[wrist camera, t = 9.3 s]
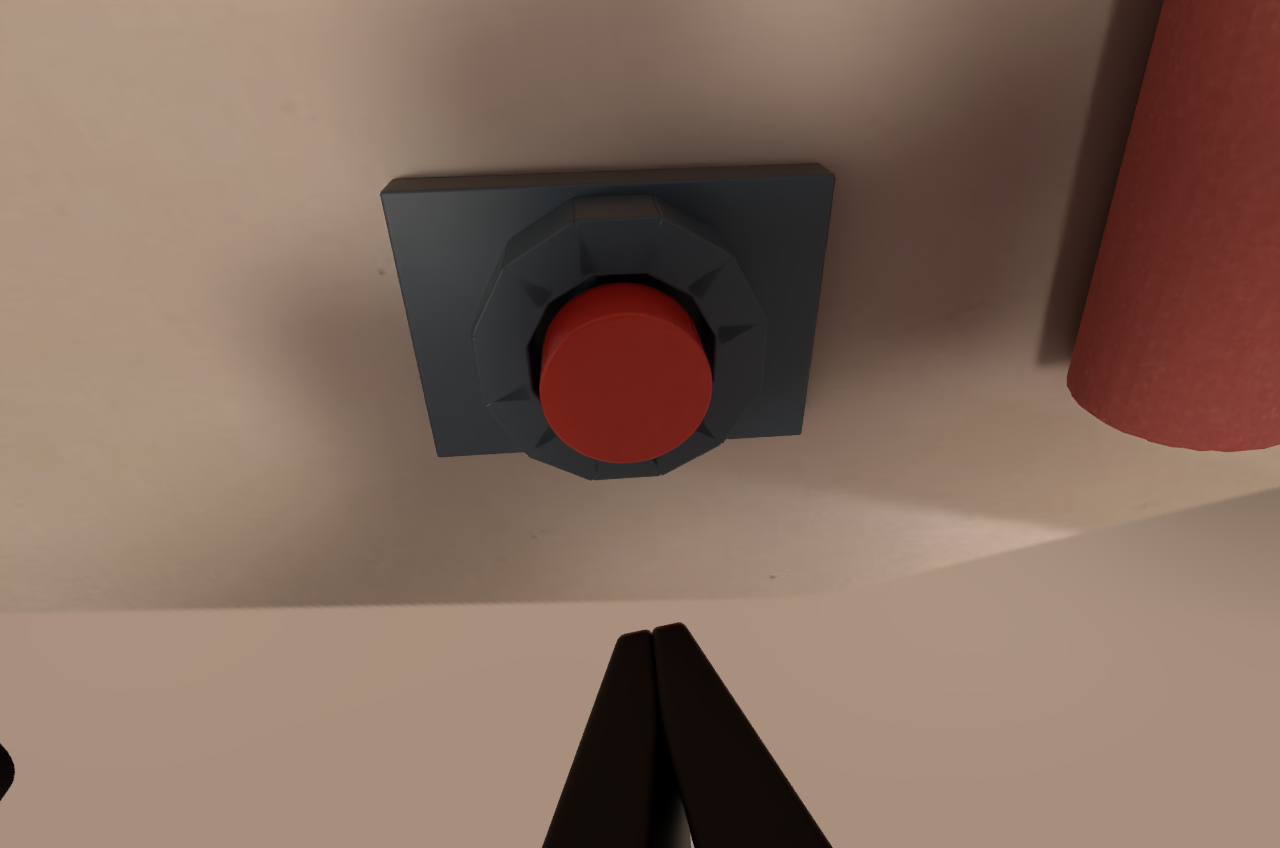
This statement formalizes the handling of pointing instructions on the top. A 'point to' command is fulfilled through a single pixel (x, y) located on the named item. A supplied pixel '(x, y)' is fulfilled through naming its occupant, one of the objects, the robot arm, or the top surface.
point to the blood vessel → (1193, 242)
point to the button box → (600, 254)
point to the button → (624, 373)
